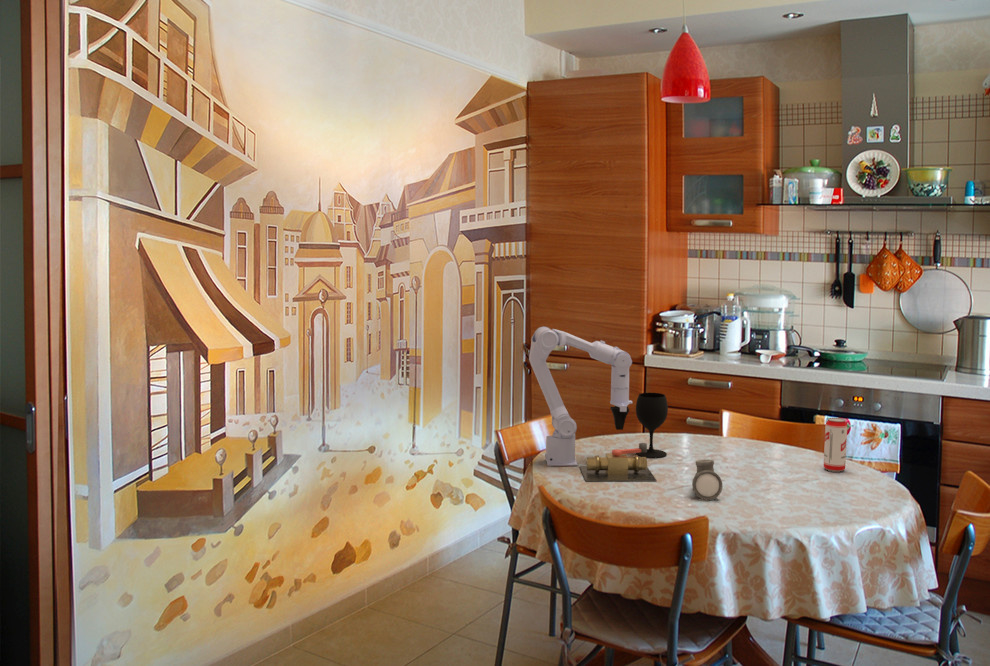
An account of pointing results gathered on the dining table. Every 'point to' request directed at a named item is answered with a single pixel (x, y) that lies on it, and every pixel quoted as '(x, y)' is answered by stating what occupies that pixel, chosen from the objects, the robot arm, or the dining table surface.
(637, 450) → the lever
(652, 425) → the wine glass
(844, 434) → the beer can
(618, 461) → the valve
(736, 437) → the dining table surface
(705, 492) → the pipe fitting
